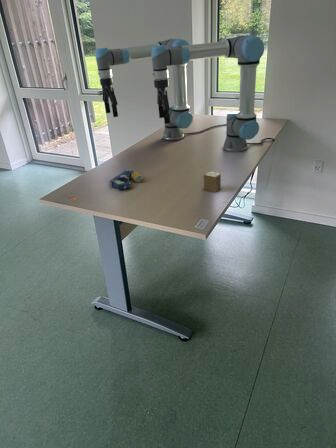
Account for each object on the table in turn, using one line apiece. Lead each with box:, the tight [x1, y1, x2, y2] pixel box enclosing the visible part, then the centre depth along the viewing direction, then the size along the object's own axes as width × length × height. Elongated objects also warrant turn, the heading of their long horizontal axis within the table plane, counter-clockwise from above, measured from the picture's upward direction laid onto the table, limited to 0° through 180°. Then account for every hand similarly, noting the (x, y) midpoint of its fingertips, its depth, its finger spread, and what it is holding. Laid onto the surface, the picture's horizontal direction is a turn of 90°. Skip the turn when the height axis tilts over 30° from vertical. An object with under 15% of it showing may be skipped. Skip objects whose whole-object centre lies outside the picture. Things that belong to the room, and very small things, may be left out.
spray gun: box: [108, 168, 143, 191], centre depth 184 cm, size 21×4×15 cm
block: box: [203, 171, 222, 193], centre depth 168 cm, size 5×7×8 cm
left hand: (112, 114), depth 206 cm, fingers open, 13 cm apart
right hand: (164, 120), depth 185 cm, fingers open, 13 cm apart
